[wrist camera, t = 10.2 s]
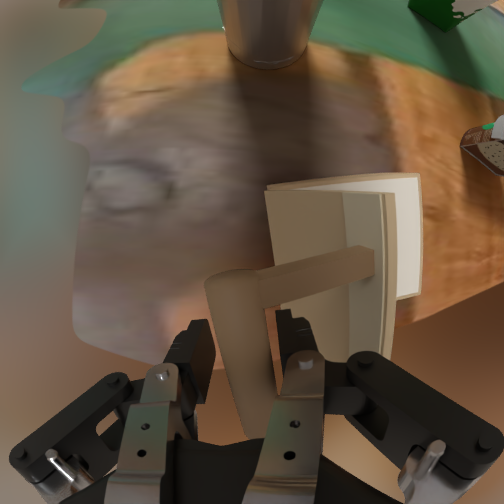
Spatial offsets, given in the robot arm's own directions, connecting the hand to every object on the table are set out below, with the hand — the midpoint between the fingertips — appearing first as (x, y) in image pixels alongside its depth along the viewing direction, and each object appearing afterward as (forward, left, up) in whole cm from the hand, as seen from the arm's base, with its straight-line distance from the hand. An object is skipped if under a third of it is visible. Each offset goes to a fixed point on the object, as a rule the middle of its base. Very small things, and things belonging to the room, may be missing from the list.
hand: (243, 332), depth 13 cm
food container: (-10, +35, -19) cm, 42 cm away
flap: (0, +4, -4) cm, 6 cm away
